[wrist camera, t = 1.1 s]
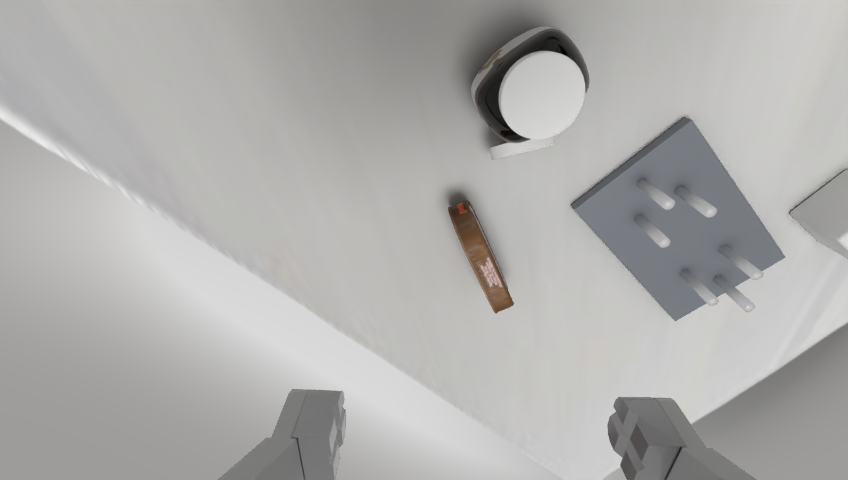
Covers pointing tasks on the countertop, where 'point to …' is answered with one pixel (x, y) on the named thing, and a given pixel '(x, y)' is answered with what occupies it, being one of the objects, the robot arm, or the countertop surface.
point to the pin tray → (680, 223)
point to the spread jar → (531, 90)
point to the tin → (480, 255)
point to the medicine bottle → (827, 214)
